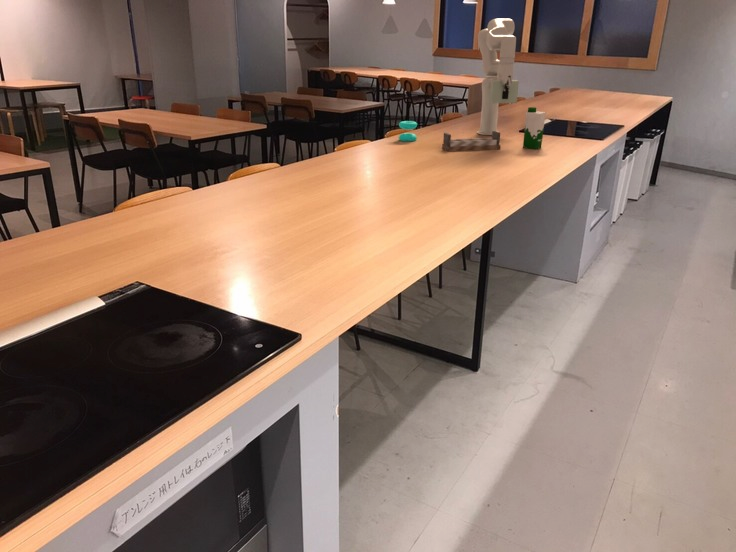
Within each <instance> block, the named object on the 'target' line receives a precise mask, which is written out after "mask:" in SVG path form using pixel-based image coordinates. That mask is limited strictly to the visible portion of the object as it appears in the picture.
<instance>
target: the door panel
mask: <svg viewBox="0 0 736 552" xmlns="http://www.w3.org/2000/svg"><path fill="white" fill-rule="evenodd" d="M519 83H520V81H519V80H517V79H515V80H514V79H513V81H512V84H511V87H510V88H509V94H508V99H502V93H503V88H504V85H501V81H491V91H490V103H499V104H517V103H518V93H519V92H518V91H519ZM505 85H508V83H506V84H505ZM505 87H506V86H505Z"/></svg>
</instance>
